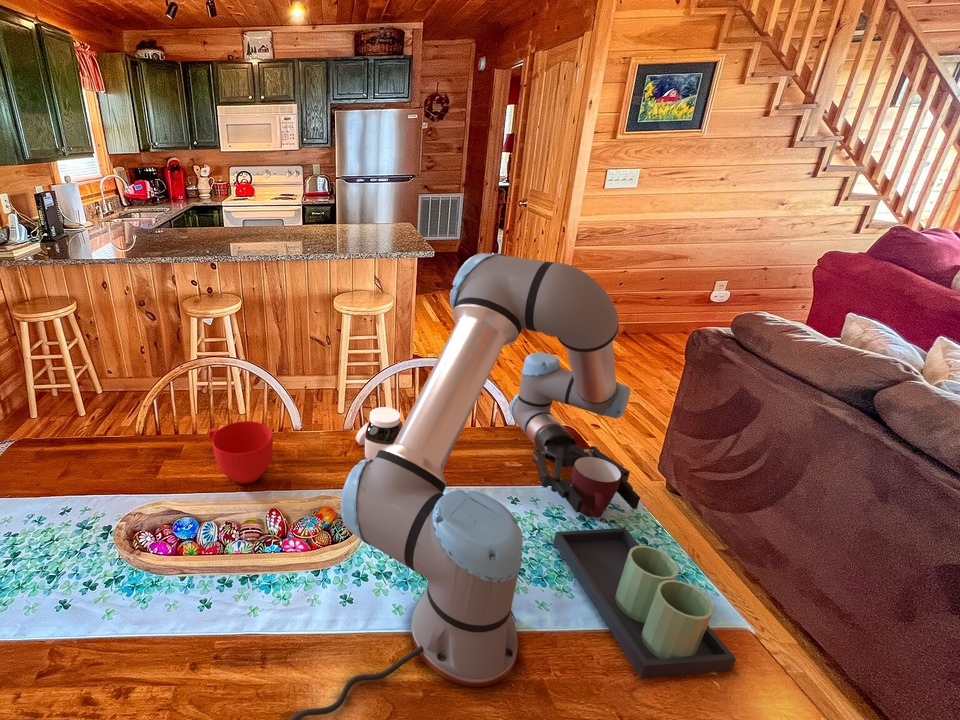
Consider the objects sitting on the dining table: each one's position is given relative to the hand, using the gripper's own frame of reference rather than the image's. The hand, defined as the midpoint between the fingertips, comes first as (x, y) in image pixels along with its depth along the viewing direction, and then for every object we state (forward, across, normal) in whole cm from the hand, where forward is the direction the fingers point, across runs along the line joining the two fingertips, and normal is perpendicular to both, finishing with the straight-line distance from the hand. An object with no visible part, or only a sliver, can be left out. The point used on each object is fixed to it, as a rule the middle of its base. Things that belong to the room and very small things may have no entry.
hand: (608, 505), depth 93 cm
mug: (-4, 0, -6) cm, 8 cm away
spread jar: (-28, +38, -6) cm, 48 cm away
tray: (+15, +4, -6) cm, 17 cm away
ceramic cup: (-24, +70, -6) cm, 74 cm away
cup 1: (+17, +4, -6) cm, 18 cm away
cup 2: (+24, +4, -6) cm, 25 cm away
